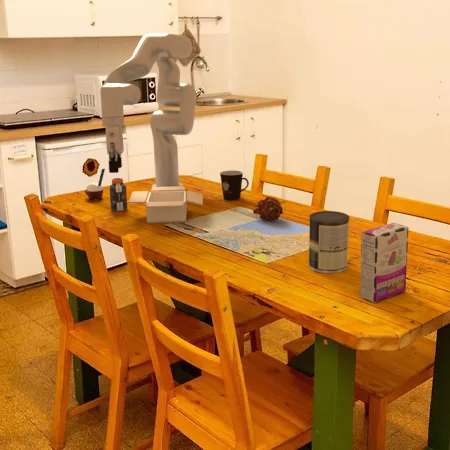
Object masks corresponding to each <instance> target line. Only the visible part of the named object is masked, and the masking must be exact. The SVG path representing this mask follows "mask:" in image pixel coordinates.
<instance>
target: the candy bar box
mask: <svg viewBox="0 0 450 450" xmlns="http://www.w3.org/2000/svg"><path fill="white" fill-rule="evenodd" d="M360 240H361V245H360V246H361V249H360V251H361V252H360V278H359V279H360V280H359V281H360V286H359V288H360V289H359V297H360V298H361V299H363V300H365V301H369V302H370V303H374V304H377V303H380V302H382V301H385V300H387V299H390V298H394V297H395V296H397V295H398V296H399V295H400V294H403V293H406V285H407V283H406V282H407V268H408V267H407V266H408V265H407V262H408V250H409V249H408V246H409V245H408V244H409V226H407V225H403V224H399V223H396V222H392V223H388V224H384V225H381V226H377V227H374V228H371V229H367V230H364V231H361V239H360Z"/></svg>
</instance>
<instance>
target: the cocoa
mask: <svg viewBox="0 0 450 450" xmlns="http://www.w3.org/2000/svg"><path fill="white" fill-rule="evenodd" d="M104 175H105V168H102V169H101V171H100V175H99V180H98V182H94V181H93V182H91V183H89V184H87V186H86V189H85V190H84V193H85V195H87V197H88V199H90V200H91V199H98V200H100V199H102V197H103V195H104V187H103V186H102V183H103V178H104ZM99 198H100V199H99Z"/></svg>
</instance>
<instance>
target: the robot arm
mask: <svg viewBox="0 0 450 450" xmlns="http://www.w3.org/2000/svg"><path fill="white" fill-rule="evenodd" d="M192 51H193V43H192V41H191V39H190V38H189V37H188V36H187V35H183V34H176V33H175V34H173V33H148V34H145V35H143V36H142V38H141V39H140V40H139V42H138V44H137V45H136V47H135V49H134V51H133V53H132V55H130V58H129V59H128V60H126V61H125V62H123V63H122V64H120V65H119V66H118V67H116V68H115V69H113V70H112V71H111V72H110V73H109V74H108V75H107V76H106V79H105V80H104V82H103V83H102V86H101V87H100V89H99V90H100V92H99V93H100V107H101V109H100V110H101V124H102V125H101V126H102V127H105V143H106V154H107V155H108V172H109V173H110V174H112V173H114V174H117V173H119V169H121V168H122V167H123V164H122V154H123V153H124V152H125V151H124V149H125V147H124V135H123V127H124V126H125V120H124V119H125V117H124V106H134V105H136V104H138V103H139V102H140V100H141V98H142V95H141V94H142V92H141V90H140V87H139V86H137V85H136V84H135V83H134V84H133V83H130V82H133V81H135V80H138V79H141V78H143V77H146V76H148V75H149V74H150V73H151V71H152V68H153V66H154V64H155V63H156V65H157V67H158V78H157V79H158V80H157V87H156V88H157V90H156V103H157V104H158V105H159V106H161V107H164V108H178V109H179V110H173V109H170V110H169V109H160V110H155V111H154V112H153V113H151V115H150V118H149V124H150V129H151V133H152V141H153V142H152V143H153V154H154V155H153V156H154V175H155V183H153V184H152V186H151V188H152V187H171V186H184V185H183V183H181V182H180V179H179V177H180V176H179V154H178V150H179V149H178V143H177V140H176V138H175V137H174V136H173V135H175V136H187V135H189V134H191V133H192V131H193V129H194V124H195V123H194V121H195V114H196V105H197V104H196V103H197V94H196V90H195V87H194V86H193V85H192V84H190V83H186V82H180V81H181V80H180V79H181V71H180V70H181V69H180V66H178V64H177V62H176V61H175V60H174V59H187V58H188V57H190V55H191V53H192Z"/></svg>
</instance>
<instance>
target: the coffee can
mask: <svg viewBox="0 0 450 450" xmlns="http://www.w3.org/2000/svg"><path fill="white" fill-rule="evenodd" d="M308 217H309V232H308V233H309V234H308V235H309V236H308V238H309V242H308V243H309V245H308V249H309V250H308V268H309V269H310V270H311V271H313V272H316V273H320V274H337V273H338V274H339V273H342V272H344V271H346V270H347V269H348V250H349V246H348V245H349V224H350V223H349V221H350V215H349V214H347V213H346V212H345V213H344V212H342V211H334V210H333V211H332V210H321V211H316V212H312V213H311V214H309V216H308Z"/></svg>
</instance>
